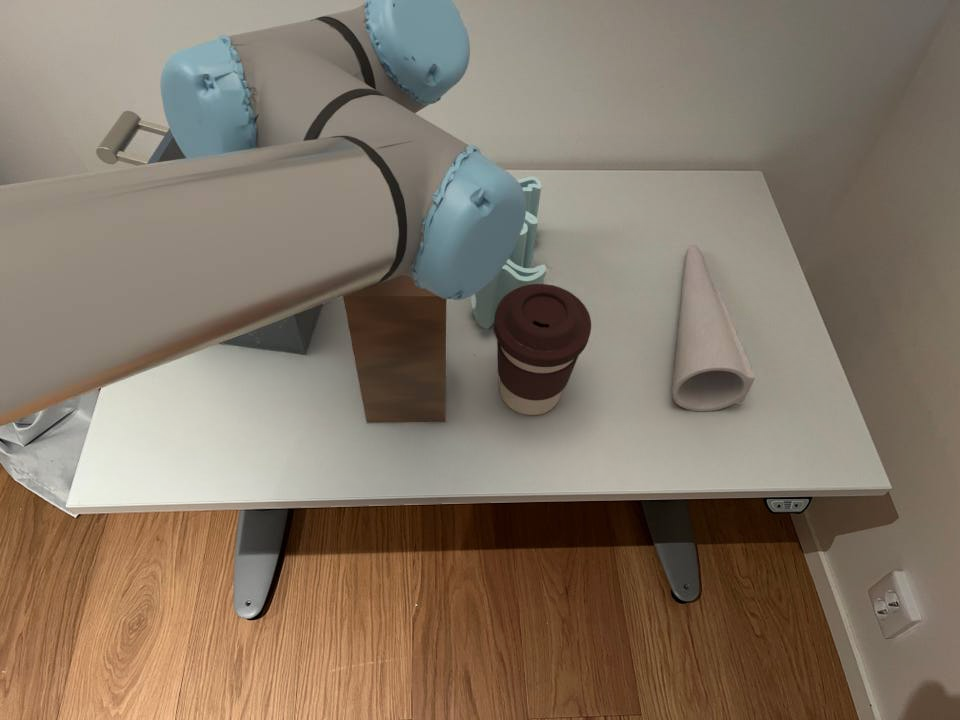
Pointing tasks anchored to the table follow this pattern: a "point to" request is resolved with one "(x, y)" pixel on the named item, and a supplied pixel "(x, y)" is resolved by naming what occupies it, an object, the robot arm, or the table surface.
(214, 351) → the table surface
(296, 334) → the grey box
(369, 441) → the table surface
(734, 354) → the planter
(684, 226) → the table surface
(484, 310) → the squiggly pen holder
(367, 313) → the stand
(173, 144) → the box lid
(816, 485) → the table surface
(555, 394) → the coffee cup
